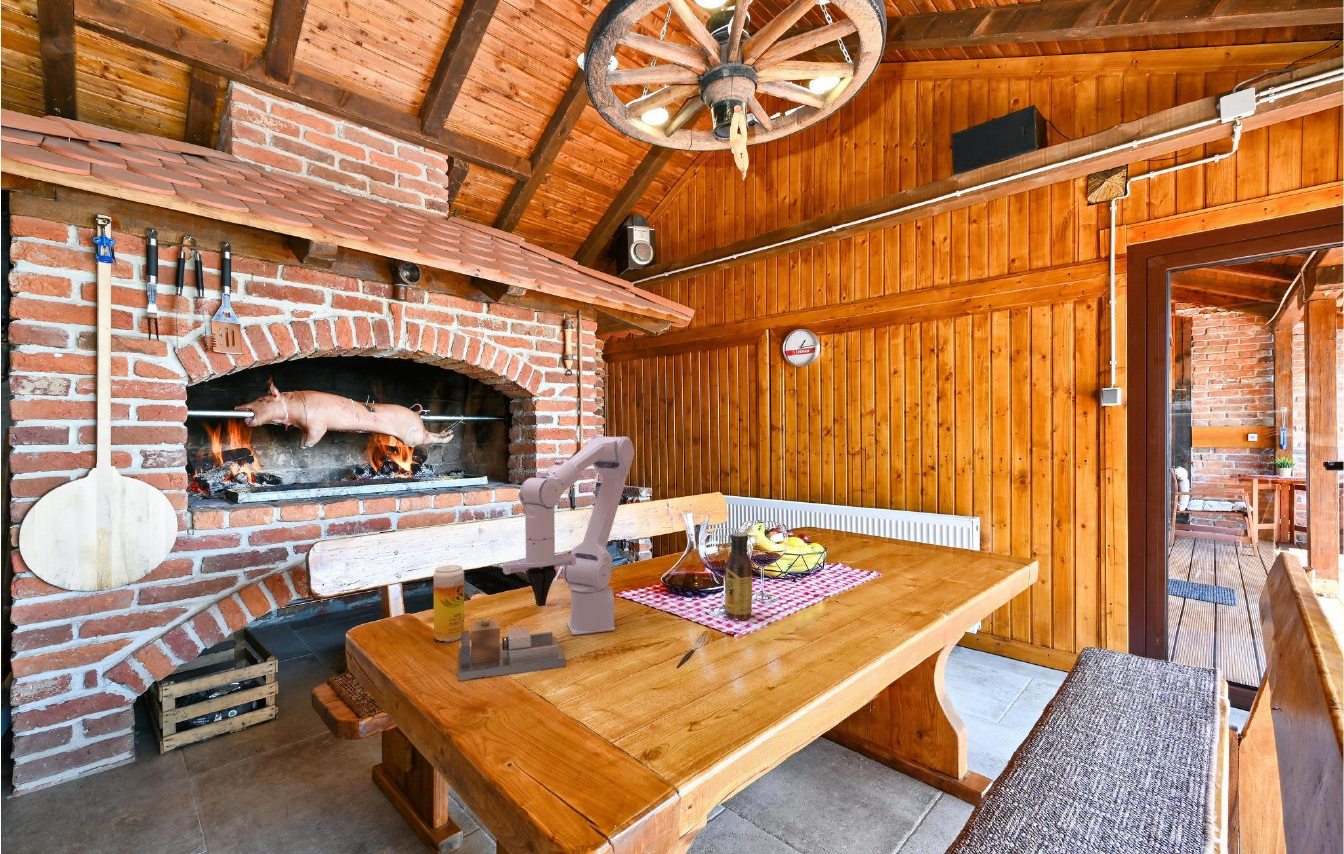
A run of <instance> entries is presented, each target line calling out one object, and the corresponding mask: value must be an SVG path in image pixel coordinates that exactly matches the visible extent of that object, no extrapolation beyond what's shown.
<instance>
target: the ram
mask: <svg viewBox="0 0 1344 854" xmlns="http://www.w3.org/2000/svg"><path fill="white" fill-rule="evenodd" d="M530 634H531V633H530V630H529V627H528V626H521V627H511V628H506V636H503V637H501V643H502V650H508V655H509V651H512V650H520V649H528V648H531V637H530Z"/></svg>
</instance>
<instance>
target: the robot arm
mask: <svg viewBox="0 0 1344 854" xmlns="http://www.w3.org/2000/svg"><path fill="white" fill-rule="evenodd" d="M634 457H635V448H634V444H633V442H632V440H631V438H630V437H628V436H627V435H626V436H624V435H623V436H599V435H594V436H591V438H590V439H587V440H586V442H585V446H583V447H582V448H581V449H580V450H579V451H578V452H577V453H575V454H574V455H573V456H572V457H571V458H570V459H569V460H568V459H556V460H555V461H554V464H553V465H552V466H551V467H549V468H547V469H546V470H543V471H541V472H539V473H540V474H539V475H537V477H529V478H527V479H526V480H524V481H523V483H522V485H521V486H520V490H519V492H518V493H517V494H518V499H519V501H520V503H521V504H522V512H523V514H524V515H525V517H524V518H525V557H524V558H521V559H516V560H512V561H506V562H502V573H503V574H505V575H511V574H513V573H519V572H520V573H523V572H524V573H525V575H526V578H527V580H528V581H529V583H530V586H531V588H532V591H533V595H534V600H535V605H537V606H538V607H543V606H544V607H545V606H546V603H547V598H548V596H549V591H550V588H551V586H552V584H553V582H554V580H555V578H556V576H557V570H556V568H557V567H562V578H563V580H564V582H565V583H566V584H567V588H568V589H570V620H568V621H566V625H567V628H568V630H569V632H570V633H571V635H572V636H578V635H585V634H586V635H587V634H593V633H594V634H595V633H601V632H602V633H603V632H610V631H616V627H615V596H614V591H613V590H614V589H613V588H612V586H611V585H610V586H609V585H608V584H609V583H610V581H611V578H612V565H613V561H614V559H613V558H614V557H612V555H611V554H610V552H609V551H608V550H607V544H608V541H609V538H610V534H611V531H612V527H613V525H614V522H615V517H616V515H617V512H618V507H619V505H620V501H621V497H622V495H623V491H624V487H625V484H626V481H627V476H628V475H629V474H630V471H631V467H632V464H633V460H634ZM590 466H593V467H594V469H595V471H596V473H597V474H599V475H600V476H601V478H602V480H601V483H600V486H599V487H600V488H599V490H598V492H597V495H596V500H595V503H594V505H593V509H592V512H591V516H590V518H589V522H588V525H587V528H586V531H585V534H584V537H583V541H582V542H581V543H579V544H578V545H576V546H574V547H573V548H572V549H571V551H570V554H555V553H556V550H555V549H556V548H555V547H556V546H555V545H556V543H555V542H556V541H555V533H556V532H555V506H557V505H558V504H559V502H560V500H561V496H562V495H563V494H564V492H565V491H566V490H568V489H569V488H571V486H573V485H574V484H575V483H576V482H577V481H578V480H579V475H580V473H582V472H583V471H584V470H586V469H587V468H589V467H590Z"/></svg>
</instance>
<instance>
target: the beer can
mask: <svg viewBox="0 0 1344 854" xmlns="http://www.w3.org/2000/svg"><path fill="white" fill-rule="evenodd" d="M461 631H465V571H464V570H463V566H462V565H458V564H447V565H442V566H438V567H436V568H435V571H434V572H433V637H434V638H435V640H439V641H445V642H444V643H451V642H455V641H458V640H461ZM439 641H438V642H439Z"/></svg>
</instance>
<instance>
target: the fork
mask: <svg viewBox="0 0 1344 854" xmlns="http://www.w3.org/2000/svg"><path fill="white" fill-rule="evenodd" d="M700 632H701V631H700V630H699V631H698V633H697V634H696V635H697V636H696V638H695V640H694V644H697V645H701V644H706V645H707V642H708V639H709V634H710V632H708V633H707V632H706V631H705V632H704V635H703V631H702V632H701V635H700ZM706 634H707V636H706ZM702 635H703V637H702ZM705 636H706V638H705ZM697 648H698V649H700V647H699V646H693V649H691V650H690V651H688V652H686V654H684V656H683V657H682V658H681V660H680V661H679V663H678V664H677V665H676V669H678V668H680V667H681V666H682V665H683V664H684V663H686V662H687V661H688V660H690V658H691V657H692V656H693V654H694V653H695V651H696V650H697ZM691 655H692V656H691ZM685 661H686V662H685Z"/></svg>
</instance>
